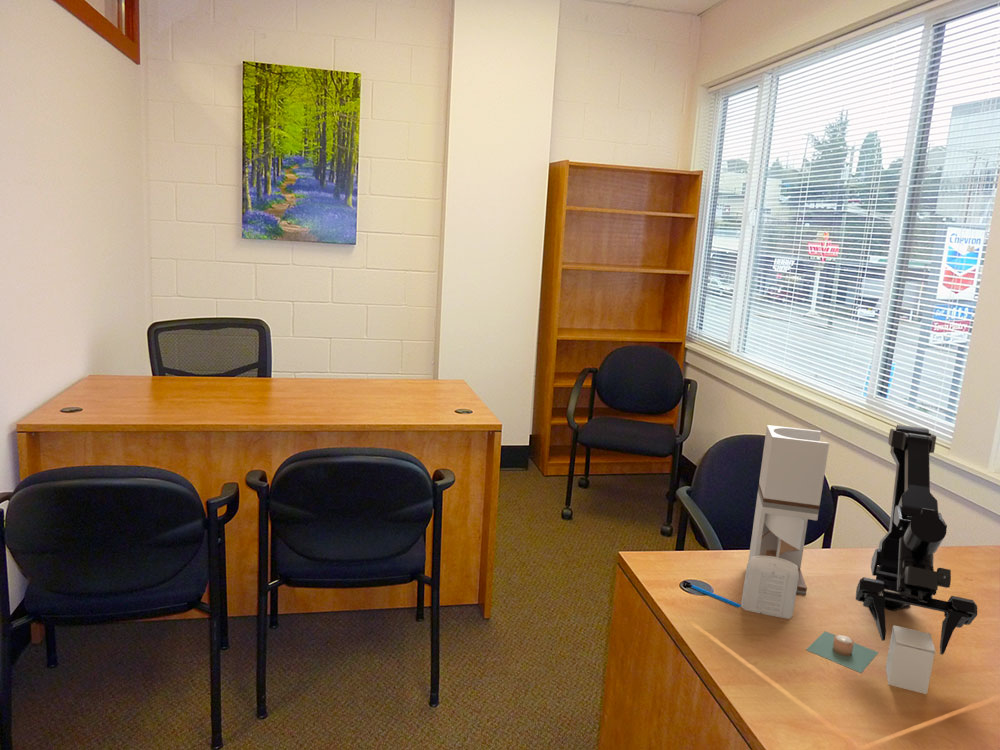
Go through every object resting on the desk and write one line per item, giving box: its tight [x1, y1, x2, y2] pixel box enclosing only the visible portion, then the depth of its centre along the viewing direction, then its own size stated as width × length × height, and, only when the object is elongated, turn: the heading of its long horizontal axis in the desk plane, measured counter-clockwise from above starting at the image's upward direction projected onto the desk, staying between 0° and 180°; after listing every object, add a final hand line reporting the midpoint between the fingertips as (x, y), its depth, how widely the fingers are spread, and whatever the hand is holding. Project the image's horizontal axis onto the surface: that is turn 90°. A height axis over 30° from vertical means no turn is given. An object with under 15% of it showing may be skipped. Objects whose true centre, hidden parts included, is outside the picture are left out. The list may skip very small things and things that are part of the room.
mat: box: [805, 630, 879, 674], centre depth 142 cm, size 10×10×1 cm
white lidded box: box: [885, 625, 936, 695], centre depth 133 cm, size 6×6×9 cm
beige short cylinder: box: [832, 634, 855, 656], centre depth 141 cm, size 3×3×2 cm
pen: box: [685, 583, 763, 615], centre depth 160 cm, size 1×19×1 cm, turn 47°
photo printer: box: [740, 556, 799, 619], centre depth 155 cm, size 10×4×12 cm, turn 72°
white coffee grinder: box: [747, 424, 830, 595], centre depth 167 cm, size 11×11×35 cm
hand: (912, 646), depth 131 cm, fingers open, 9 cm apart
